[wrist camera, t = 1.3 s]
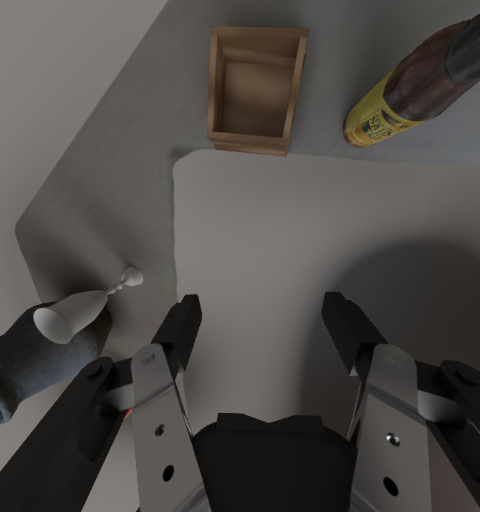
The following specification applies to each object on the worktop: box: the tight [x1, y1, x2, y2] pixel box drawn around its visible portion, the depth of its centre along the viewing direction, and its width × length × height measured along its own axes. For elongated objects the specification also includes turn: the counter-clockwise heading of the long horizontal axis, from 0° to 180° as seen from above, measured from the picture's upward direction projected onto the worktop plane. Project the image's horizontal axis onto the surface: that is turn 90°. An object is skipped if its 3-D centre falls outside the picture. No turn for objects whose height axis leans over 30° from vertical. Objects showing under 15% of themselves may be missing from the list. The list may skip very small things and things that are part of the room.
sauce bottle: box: [343, 14, 480, 147], centre depth 18 cm, size 6×6×20 cm
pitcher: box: [0, 302, 112, 424], centre depth 41 cm, size 21×22×25 cm
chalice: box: [34, 267, 143, 344], centre depth 36 cm, size 7×7×18 cm
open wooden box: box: [207, 26, 309, 157], centre depth 26 cm, size 12×12×6 cm
